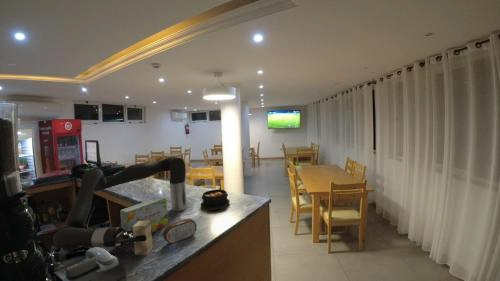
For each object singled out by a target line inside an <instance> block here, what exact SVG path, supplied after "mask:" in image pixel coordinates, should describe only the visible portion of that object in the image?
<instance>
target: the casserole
mask: <svg viewBox="0 0 500 281" xmlns="http://www.w3.org/2000/svg"><path fill="white" fill-rule="evenodd" d="M228 195H229V194H228V192H227V191H226V189H211V190H207V191H205V192H203V194H202V196H201V199H202V201H201V203H200V206H201V207H203V208H204V209H205V210H208V211H218V210H223V209H225V208H227V207H228V205H229V203H230V199H228V197H229V196H228Z"/></svg>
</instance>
